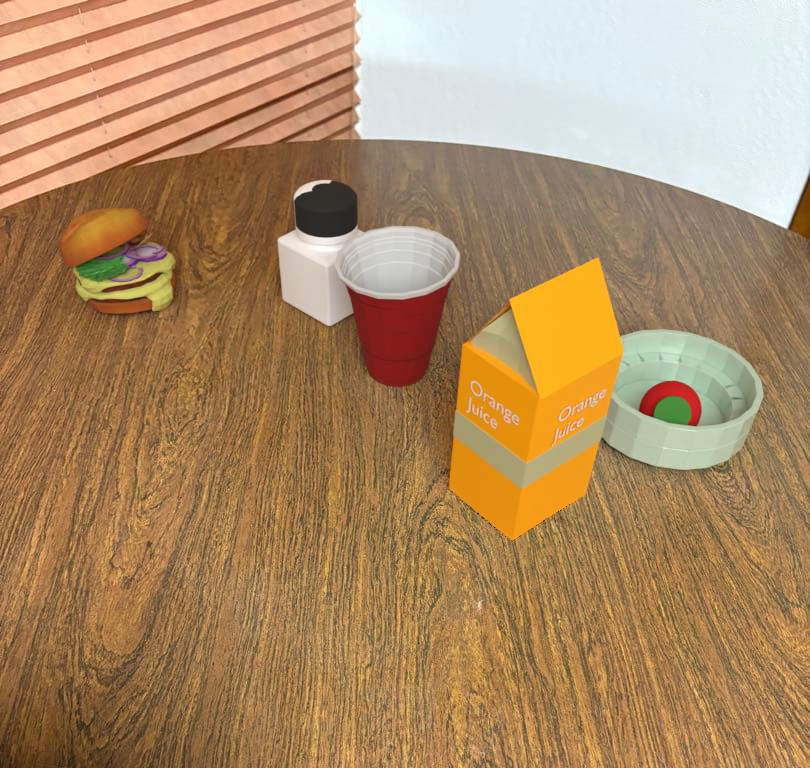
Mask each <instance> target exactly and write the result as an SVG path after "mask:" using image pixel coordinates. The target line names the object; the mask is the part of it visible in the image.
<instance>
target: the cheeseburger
mask: <svg viewBox="0 0 810 768" xmlns="http://www.w3.org/2000/svg"><path fill="white" fill-rule="evenodd" d="M149 226H150V221H149V220H148V218H146V217H145V216H144V215H143V214H142V213H141V211H139V209H138V208H135V207H103V208H97V209H93V210H90V211H86V212H84V213H81V214H80V215H78V216H76V217H74V218H73V219H72V220H71V221H70V222H69V224H68V225H67V227H66V228H65V230H64V231H63V232H62V235H61V237H60V239H59V244H58V245H59V246H58V247H59V251H60V256H61V260H62V263H63V264H64V265H66V266H67V267H72V272H73V273H74V275H75V276H76V280H75V291H76V292H77V294H78V296H80V297H81V299H82V300H83V301H84V302H87V303H88V305H89V306H90V307H91V306H92V307H93V308H92V307H91V308H92V309H94V310H96V311H97V312H99V313H101V314H113V315H115V314H117V315H123V314H138V313H142V312H146V311H152V312H160V311H162V310H165V309H167V308H168V307H169V306H170V305H171V303H172V301H173V299H174V293H175V288H176V284H177V281H176V273H175V271H174V269H175V268H176V262H177V260H176V257H175V256H174V255H173V254H172V253H171V252H170V251H168V250H167V248H165V246H162V245H159V244H158V243H157V242H153V241H150V240H151V239H152V237H153V235H154V234H153V232H151V233H150V234H149V235H146V234H142V233H143V232H144V231H145V230H146V229H148V227H149ZM140 234H142V235H141V236H139V235H140Z"/></svg>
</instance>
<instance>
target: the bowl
mask: <svg viewBox="0 0 810 768" xmlns="http://www.w3.org/2000/svg"><path fill="white" fill-rule="evenodd" d="M620 338H621V342H622V346H623V349H624V353H623V355H622V359H621V363H620V366H619V370H618V374H617V378H616V381H615V385H614V389H613V393H612V397H611V400H610V404H609V408H608V412H607V418H606V422H605V426H604V430H603V433H602V437H601V439H603V440H604V442H606V443H607V444H608V445H609V446H611V447H612V448H613V449H615V450H617V452H618V451H619V452H620V453H622V454H623V455H625V456H626V457H628V458H630V459H632V460H636V461H638V462H642V463H645V464H646V465H650V466H653V467H656V468H665V469H671V470H679V471H689V470H701V469H709V468H711V467H714V466H716V465H719V464H722V463H724V462H728V461H729V460H730V459H731V458H732V457H734V455H736V454H737V453H738V452H739V451H740V450H741V449H742V448H743V446H744V444H745V442H746V439H747V437H748V434H749V432H750V430H751V428H752V426H753V424H754V420H755V418H756V416H757V414H758V411H759V410H760V406H761V404H762V402H763V398H764V396H765V393H764V389H763V381H762V379H761V377H760V376H759V374H758V373H757V371H756V369H755V368H754V367H753V365H752V364H751V363H750V362H749V361H748V360H747V359H745V358H744V357H743V356H741V354H739V353H738V352H737V351H735V350H734V349H733V348H730V347H729V346H728V345H727V346H726V345H725V344H723V343H721V342H719V341H717V340H715V339H712V338H709V337H706V336H703V335H699V334H696V333H693V332H688V331H684V330H675V329H666V328H655V329H641V330H637V331H633V332H630V333H627V334H623V335H620ZM664 381H679V382H682V383H685V384H687V385H689V386H690V387H691V388H692V389H693V390H694V391H695V392H696V393H697V395H698V397H699V399H700V401H701V406H702V414H701V418H700V421H699V423H698V425H697V426H688V425H681V424H673V423H668V422H665V421H662V420H659V419H656V418H653V417H650V416H647V415H644V414H642V413H641V412H639V406H640V403H641V400H642V398H643V396H644V395H645V393H646V392H647V391H648V390H649V389H650V388H651V387H653V386H654V385H656V384H658V383H661V382H664Z"/></svg>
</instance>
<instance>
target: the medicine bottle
mask: <svg viewBox="0 0 810 768" xmlns="http://www.w3.org/2000/svg"><path fill="white" fill-rule="evenodd" d="M293 210H294V225H295V229H294V230H292V231H290V232H287V233H285V234H283V235H282V236H279V237H278V238H277V251H278V253H277V254H278V264H279V275H280V286H281V299H282V301H284V302H285V303H286V304H288V305H290V306H292V307H293V308H294V309H295V308H296V309H297V310H299V311H300V312H303V313H304V314H306V315H308V316H310V317H311V318H313V319H315V320H316V321H317V322H320V323H322V324H323V325H325V326H326V327H329V326H330V327H332V326H334V325H336V324H338V323H339V322H340V321H342V320H345V319H346V318H348V317H349V316H351V315H354V313H353V308H352V304H351V299H350V296H349V293H348V291H347V287H346V285H345V284H344V283H343V282H342V281H341V279H340V277H339V275H338V272H337V270H336V268H335V265H334V264H335V260H336V257H337V253H338V251H339V250H340V249H341V248H342V247H343V246H344V245H345V244H346V243H347V242H348V241H349V240H350V239H352V238H354V237H356V236H358V235H361V234H363V233H365V232H366V231H363V230H361V229H359V228H358V227H359V223H358V222H359V221H358V220H359V218H358V194H357V192H356V191H355V190H354V189H353V188H352V187H351V186H350V185H348V184H346V183H344V182H340V181H337V180H331V179H319V180H315V181H310V182H307V183H305V184H303V185H301V186H299V187H298V188H297V189H296V190H295V192H294V194H293Z"/></svg>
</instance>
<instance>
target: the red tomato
mask: <svg viewBox="0 0 810 768" xmlns="http://www.w3.org/2000/svg"><path fill="white" fill-rule="evenodd" d="M639 412H641V413H642V414H644V415H647V416H650V417H653V418H656V419H659V420H662V421H665V422H668V423H673V424H681V425H688V426H697V425H698V423H699V421H700V418H701V414H702V406H701V401H700V399H699V397H698V395H697V393H696V392H695V391H694V390H693V389H692V388H691V387H690V386H689V385H687V384H685V383H682V382H679V381H664V382H661V383H658V384H656V385H654V386H653V387H651V388H650V389H649V390H648V391H647V392H646V393H645V395H644V396H643V398H642V400H641V403H640V406H639Z"/></svg>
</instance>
